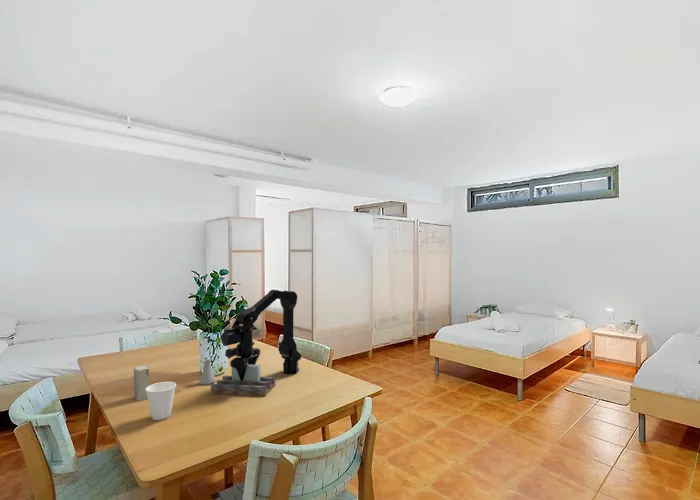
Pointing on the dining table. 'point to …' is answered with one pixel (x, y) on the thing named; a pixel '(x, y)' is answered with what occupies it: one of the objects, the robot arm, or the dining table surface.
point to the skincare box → (141, 382)
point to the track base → (243, 386)
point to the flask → (207, 374)
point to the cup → (161, 399)
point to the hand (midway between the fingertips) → (246, 376)
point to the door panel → (248, 373)
